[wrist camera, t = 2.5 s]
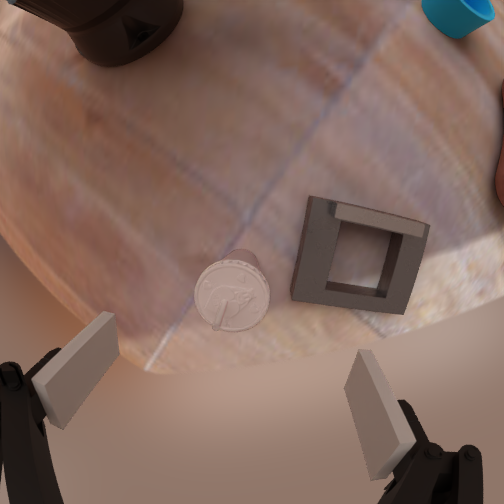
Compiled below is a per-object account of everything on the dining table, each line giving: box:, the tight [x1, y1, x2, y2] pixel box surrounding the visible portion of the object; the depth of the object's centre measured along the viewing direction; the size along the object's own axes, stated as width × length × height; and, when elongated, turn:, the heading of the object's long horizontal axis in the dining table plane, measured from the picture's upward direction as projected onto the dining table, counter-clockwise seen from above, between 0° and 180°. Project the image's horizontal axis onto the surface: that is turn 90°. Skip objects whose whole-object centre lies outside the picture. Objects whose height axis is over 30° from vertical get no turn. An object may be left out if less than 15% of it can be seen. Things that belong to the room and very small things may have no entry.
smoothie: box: [194, 249, 270, 332], centre depth 26 cm, size 6×6×14 cm
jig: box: [290, 195, 430, 315], centre depth 29 cm, size 14×11×5 cm
